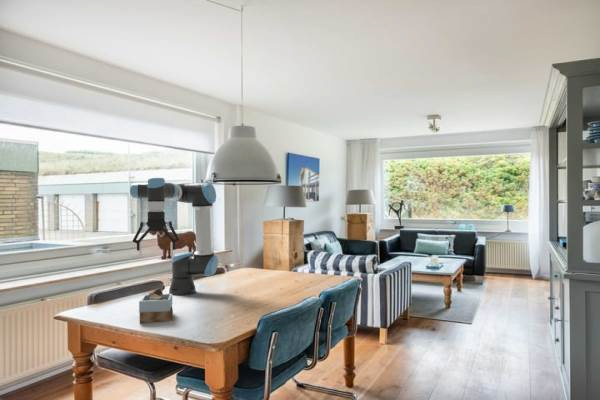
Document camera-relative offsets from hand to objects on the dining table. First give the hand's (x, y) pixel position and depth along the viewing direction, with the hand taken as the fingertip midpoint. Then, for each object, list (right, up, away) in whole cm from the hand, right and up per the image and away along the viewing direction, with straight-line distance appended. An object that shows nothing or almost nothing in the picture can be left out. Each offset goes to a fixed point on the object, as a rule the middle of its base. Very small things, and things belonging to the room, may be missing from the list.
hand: (156, 257), depth 193 cm
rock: (0, -21, 0) cm, 21 cm away
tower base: (0, -29, 0) cm, 29 cm away
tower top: (0, -24, 0) cm, 24 cm away
